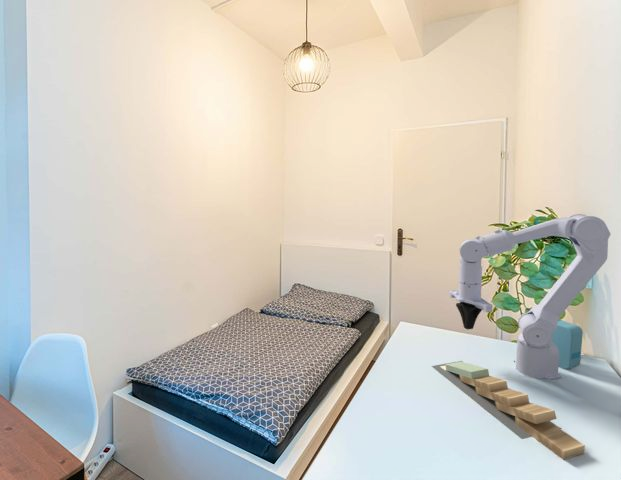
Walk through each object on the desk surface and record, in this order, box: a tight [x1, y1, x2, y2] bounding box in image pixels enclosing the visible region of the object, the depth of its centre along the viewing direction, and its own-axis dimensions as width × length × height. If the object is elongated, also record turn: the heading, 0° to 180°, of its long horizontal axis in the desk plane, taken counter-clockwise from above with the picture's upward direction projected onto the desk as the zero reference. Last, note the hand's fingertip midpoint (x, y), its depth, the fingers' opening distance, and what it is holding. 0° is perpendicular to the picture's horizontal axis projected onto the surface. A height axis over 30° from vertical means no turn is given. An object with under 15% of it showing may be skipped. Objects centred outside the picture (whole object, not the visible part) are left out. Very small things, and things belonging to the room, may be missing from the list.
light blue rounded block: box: [552, 319, 584, 370], centre depth 93 cm, size 12×4×12 cm, turn 21°
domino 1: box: [459, 375, 509, 392], centre depth 79 cm, size 2×5×10 cm
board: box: [431, 360, 562, 440], centre depth 78 cm, size 10×29×1 cm, turn 14°
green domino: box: [444, 361, 490, 379], centre depth 84 cm, size 2×5×10 cm
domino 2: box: [475, 387, 530, 407], centre depth 74 cm, size 2×5×10 cm
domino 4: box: [515, 416, 586, 460], centre depth 63 cm, size 2×5×10 cm
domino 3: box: [495, 401, 557, 424], centre depth 68 cm, size 2×5×10 cm
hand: (468, 328), depth 93 cm, fingers closed
